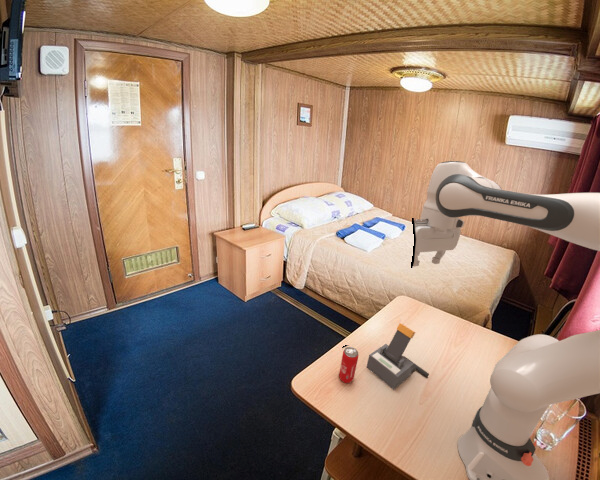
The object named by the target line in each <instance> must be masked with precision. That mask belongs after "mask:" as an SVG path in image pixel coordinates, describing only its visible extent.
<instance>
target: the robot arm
mask: <svg viewBox="0 0 600 480" xmlns="http://www.w3.org/2000/svg"><path fill="white" fill-rule="evenodd" d="M426 194H427V195H426V200H425V202H424V203H423V206H422V210H421V214H420V218H419V219H418V218H417V219H413V223H414V233H415V247H414V257H413V263H412V267H419V266H420V260H419V256H420V253H429V252H436V253H435V255H434V256H433V257H432V258H431V263H432V264H434V265H439V264H441V260H442V258H443V257H444V256H445V254H446V251H453V250H455V249H456V247H457V245H458V243H459V240H460V237H461V233H462V232H461V231H462V228H463V227H464V225H465V221H464V219H462V218H463V217H486V218H489V219H494V220H497V221H503V222H507V223H512V224H516V225H522V226H525V227H528V228H531V229H534V230H537V231H539V232H542V233H545V234H548V235H551V236H554V237H556V238H558V239H561V240H564V241H565V242H568V243H572V244H575V245H578V246H581V247H584V248H588V249H590V250H593V251H598V252H600V192H569V193H568V192H567V193H557V194H555V193H553V194H538V193H537V194H534V193H533V194H531V193H525V192H520V191H519V192H518V191H512V190H507V189H502V187H501V186H500V184H498V183H497V182H496V181H493V180H492V179H490V178H488V177H485V176H484V175H481V174H479V173H478V172H476V171H475V170H473V169H472V168H471V167H470V165H469V164H468V163H467V162H465V161H461V160H460V161H459V160H448V161H442V162H439V163H438V164H436V166H435V167H434V169H433V172H432V174H431V176H430V179H429V184H428V186H427V190H426ZM489 381H490V382H489V383H490V389H489V390H488V393H487V395H486V397H485V398H484V401H483V404H482V405H481V406H480V407H479V408H478V410H476V412H475V415H474V417H473V419H472V423H471V426H470V427H469V429H468V430H467V431H466V432H465V433H464V434H462V435H461V436H460V437H459V439H458V440H457V441H458V442H457V452H458V455H459V457H460V458H461V461H462V462H463V463H462V464H464V466H465V472H466V475H467V478H468V479H469V480H550V477H549V472H548V470H547V468H546V467H545V466H544V464H543V463H542V462H541V460H540V459H539V457H538V456H537V454H536V446H537V445H538V444H537V443H538V441H537V439H535V440H534V442H533V441H532V439H531V436H532V435H533V433H534V431H535V430H536V427H537V426H538V424H539V422H540V421H541V419H542V417H544V416H543V415H544V414H545V412H547V409H548V408H549V406H551V405H554V404H560V403H563V402H570V401H572V400H577V399H580V398H585V397H588V396H593V395H598V394H600V329H599V330H594V331H588V332H584V333H579V334H577V333H576V334H574V335H570V336H568V337H567V338H563V339H562V340H559V339H557V338H555V337H553V336H551V335H547V334H541V333H540V334H539V333H538V334H533V335H530V336H527V337H524V338H521V339H520V340H519V341H517V343H516V344H515V345H514V346H513V347H512V348H510V349H509V351H508V352H507V353H506V354H505V355H503V357H501V358H500V359H499V360H498V361H497V362H496V364H495V366H494V367H493V370H492V373H491V375H490V378H489Z"/></svg>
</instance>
